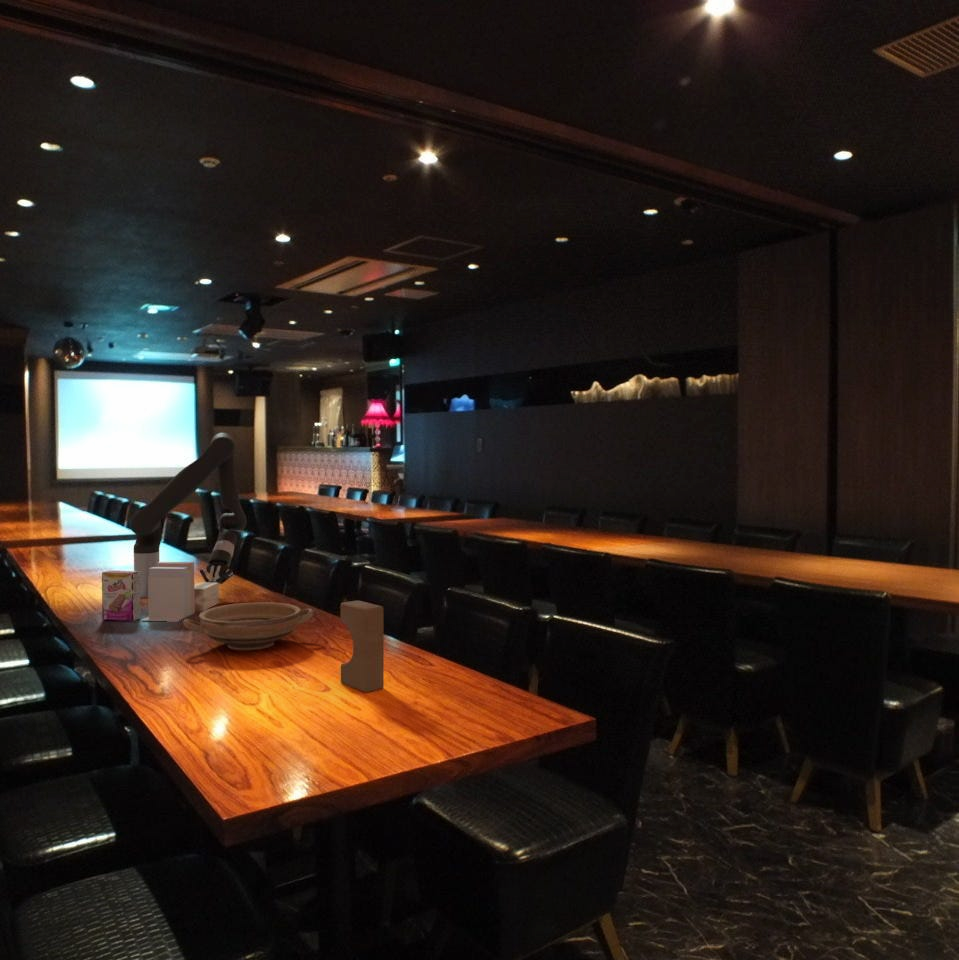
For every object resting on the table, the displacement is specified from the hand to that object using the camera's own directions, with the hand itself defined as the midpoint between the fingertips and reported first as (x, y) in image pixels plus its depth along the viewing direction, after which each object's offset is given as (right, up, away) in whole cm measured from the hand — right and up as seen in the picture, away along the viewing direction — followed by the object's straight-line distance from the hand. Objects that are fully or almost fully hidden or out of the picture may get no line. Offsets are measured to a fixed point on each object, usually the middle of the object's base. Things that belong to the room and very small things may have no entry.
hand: (210, 591), depth 293 cm
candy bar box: (-20, -6, -29) cm, 35 cm away
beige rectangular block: (0, -5, -7) cm, 9 cm away
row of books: (-6, -5, -25) cm, 26 cm away
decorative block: (+72, -9, -101) cm, 125 cm away
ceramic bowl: (+33, -7, -62) cm, 71 cm away
